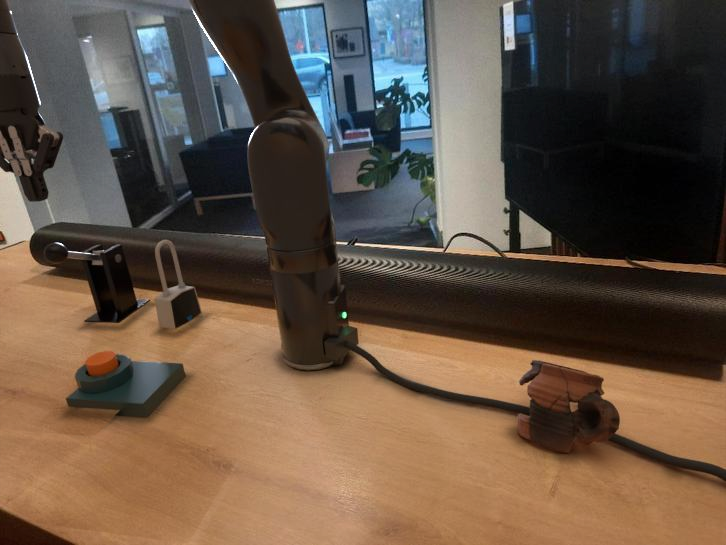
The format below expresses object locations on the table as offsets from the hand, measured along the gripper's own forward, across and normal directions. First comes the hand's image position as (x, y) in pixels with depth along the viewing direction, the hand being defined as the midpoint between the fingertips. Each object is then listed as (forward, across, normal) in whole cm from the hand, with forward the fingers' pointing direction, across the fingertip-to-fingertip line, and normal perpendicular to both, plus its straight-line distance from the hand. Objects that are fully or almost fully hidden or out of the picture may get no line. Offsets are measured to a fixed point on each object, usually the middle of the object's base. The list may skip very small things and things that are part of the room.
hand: (39, 200), depth 72 cm
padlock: (+24, +14, +7) cm, 28 cm away
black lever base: (+24, 0, +9) cm, 25 cm away
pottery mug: (+24, +72, -14) cm, 77 cm away
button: (+20, +15, -13) cm, 28 cm away
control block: (+23, +18, -13) cm, 32 cm away
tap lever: (+12, 0, +4) cm, 12 cm away
